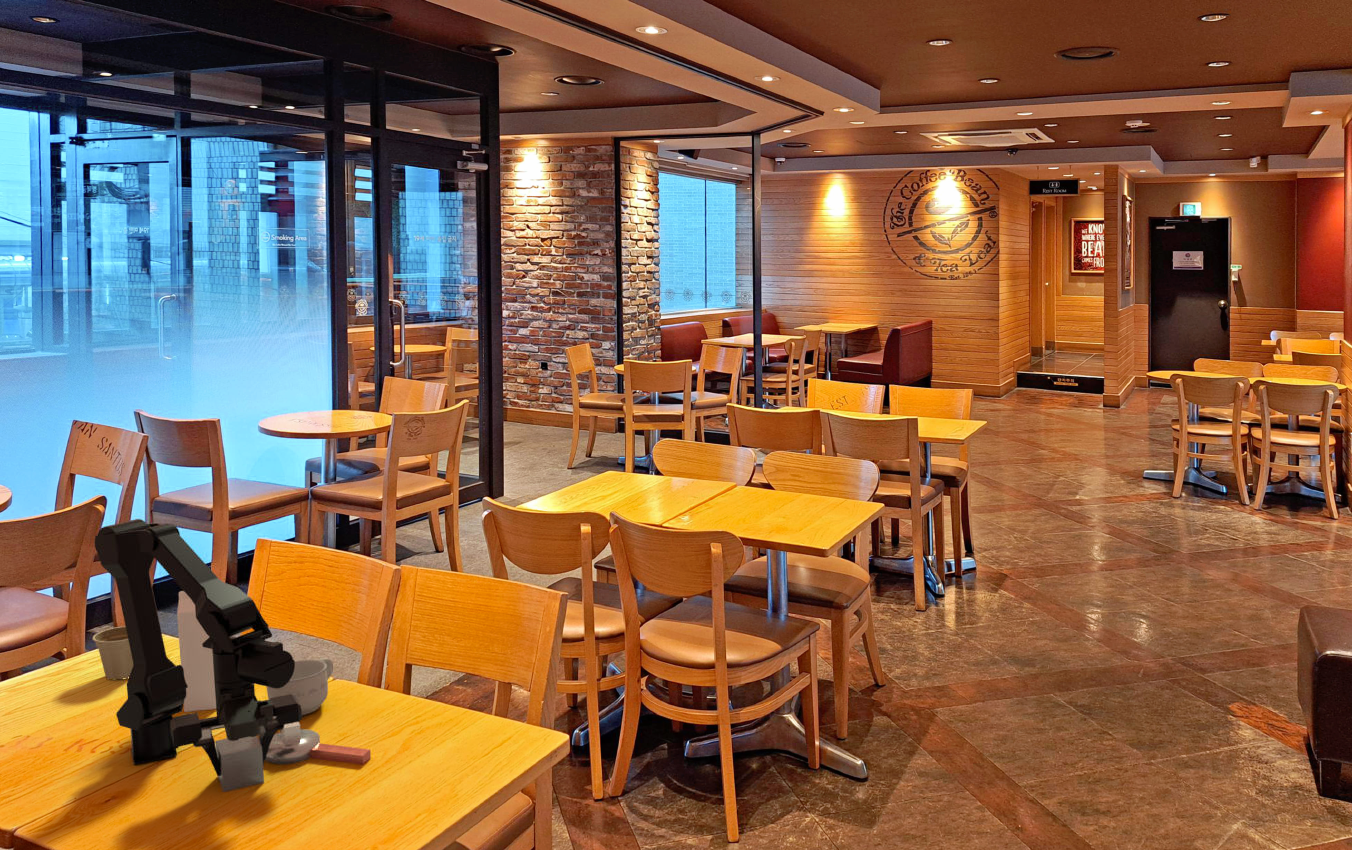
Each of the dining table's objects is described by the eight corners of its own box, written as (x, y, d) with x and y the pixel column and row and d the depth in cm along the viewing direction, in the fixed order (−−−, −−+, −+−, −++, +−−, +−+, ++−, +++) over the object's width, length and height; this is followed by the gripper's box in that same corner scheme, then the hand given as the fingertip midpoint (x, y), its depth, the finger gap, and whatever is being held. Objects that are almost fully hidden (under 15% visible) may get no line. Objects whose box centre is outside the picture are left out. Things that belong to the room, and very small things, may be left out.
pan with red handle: (251, 760, 177) (250, 732, 176) (284, 737, 185) (282, 710, 184) (352, 773, 172) (350, 744, 171) (380, 749, 181) (379, 721, 180)
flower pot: (85, 682, 210) (81, 640, 209) (117, 665, 219) (114, 624, 218) (128, 685, 208) (124, 642, 207) (159, 667, 218) (156, 626, 216)
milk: (219, 709, 197) (211, 593, 194) (183, 712, 196) (175, 596, 192) (223, 696, 203) (216, 583, 200) (188, 699, 202) (181, 586, 198)
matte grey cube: (223, 791, 166) (220, 755, 165) (217, 776, 171) (215, 740, 170) (264, 782, 169) (261, 746, 168) (257, 767, 174) (255, 732, 173)
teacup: (289, 727, 189) (286, 684, 188) (254, 712, 196) (252, 670, 195) (355, 701, 200) (353, 661, 199) (320, 688, 207) (318, 648, 206)
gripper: (174, 706, 156) (181, 807, 158) (306, 681, 165) (312, 776, 168) (166, 681, 166) (173, 776, 168) (292, 659, 175) (297, 749, 177)
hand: (240, 770), depth 170 cm, fingers closed on matte grey cube, 6 cm apart
